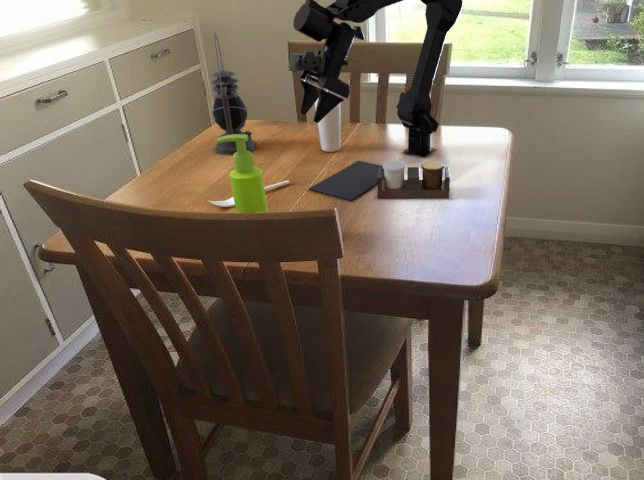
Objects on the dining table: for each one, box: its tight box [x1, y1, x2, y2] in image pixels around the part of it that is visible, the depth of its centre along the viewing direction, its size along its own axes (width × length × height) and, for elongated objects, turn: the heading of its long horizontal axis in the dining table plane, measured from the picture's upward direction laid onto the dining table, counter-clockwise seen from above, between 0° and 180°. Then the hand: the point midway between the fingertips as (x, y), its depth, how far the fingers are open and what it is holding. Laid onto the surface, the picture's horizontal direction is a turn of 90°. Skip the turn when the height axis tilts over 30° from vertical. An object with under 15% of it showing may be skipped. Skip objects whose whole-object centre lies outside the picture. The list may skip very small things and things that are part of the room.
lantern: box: [210, 32, 256, 156], centre depth 140 cm, size 12×11×30 cm
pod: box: [420, 160, 445, 189], centre depth 117 cm, size 5×5×5 cm
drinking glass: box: [313, 98, 342, 153], centre depth 141 cm, size 7×7×15 cm
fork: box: [208, 180, 291, 208], centre depth 120 cm, size 3×20×2 cm, turn 131°
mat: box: [308, 160, 384, 202], centre depth 127 cm, size 20×12×1 cm, turn 147°
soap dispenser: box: [216, 134, 269, 213], centre depth 100 cm, size 6×7×20 cm
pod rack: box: [376, 166, 451, 200], centre depth 119 cm, size 6×16×5 cm, turn 87°
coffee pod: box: [382, 160, 407, 189], centre depth 118 cm, size 5×5×5 cm
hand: (308, 118), depth 121 cm, fingers open, 9 cm apart
